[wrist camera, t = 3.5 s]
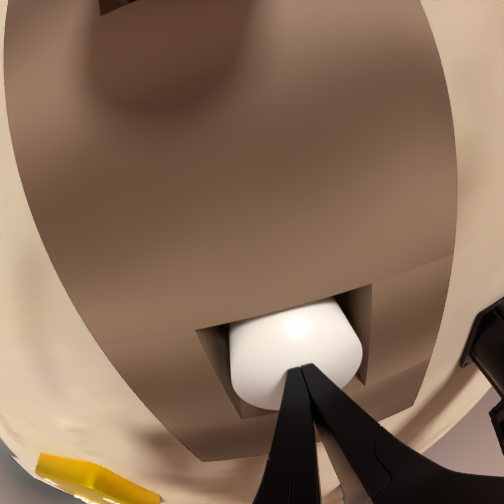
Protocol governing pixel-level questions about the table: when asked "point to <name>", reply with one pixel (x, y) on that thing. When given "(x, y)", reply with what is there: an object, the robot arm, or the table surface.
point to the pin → (291, 349)
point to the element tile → (92, 482)
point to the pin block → (237, 187)
